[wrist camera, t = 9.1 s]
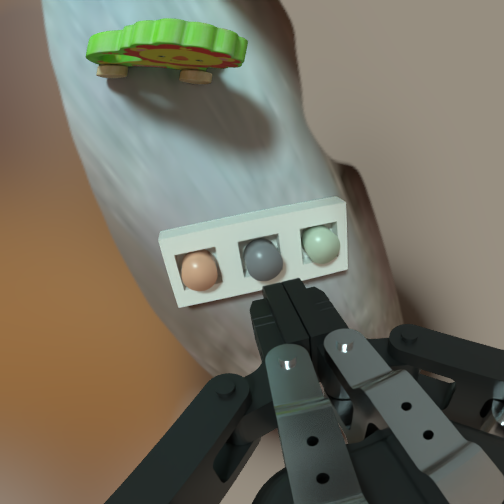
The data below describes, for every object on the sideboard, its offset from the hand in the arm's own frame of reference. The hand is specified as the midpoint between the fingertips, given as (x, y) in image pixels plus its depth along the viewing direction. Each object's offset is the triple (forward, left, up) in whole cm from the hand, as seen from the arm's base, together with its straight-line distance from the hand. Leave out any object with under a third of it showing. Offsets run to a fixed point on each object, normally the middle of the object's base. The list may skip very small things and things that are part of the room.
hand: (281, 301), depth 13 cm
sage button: (+11, +11, -28) cm, 32 cm away
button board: (+11, +3, -29) cm, 31 cm away
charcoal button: (+11, +3, -27) cm, 29 cm away
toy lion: (-15, -4, -29) cm, 33 cm away
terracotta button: (+11, -5, -27) cm, 30 cm away
